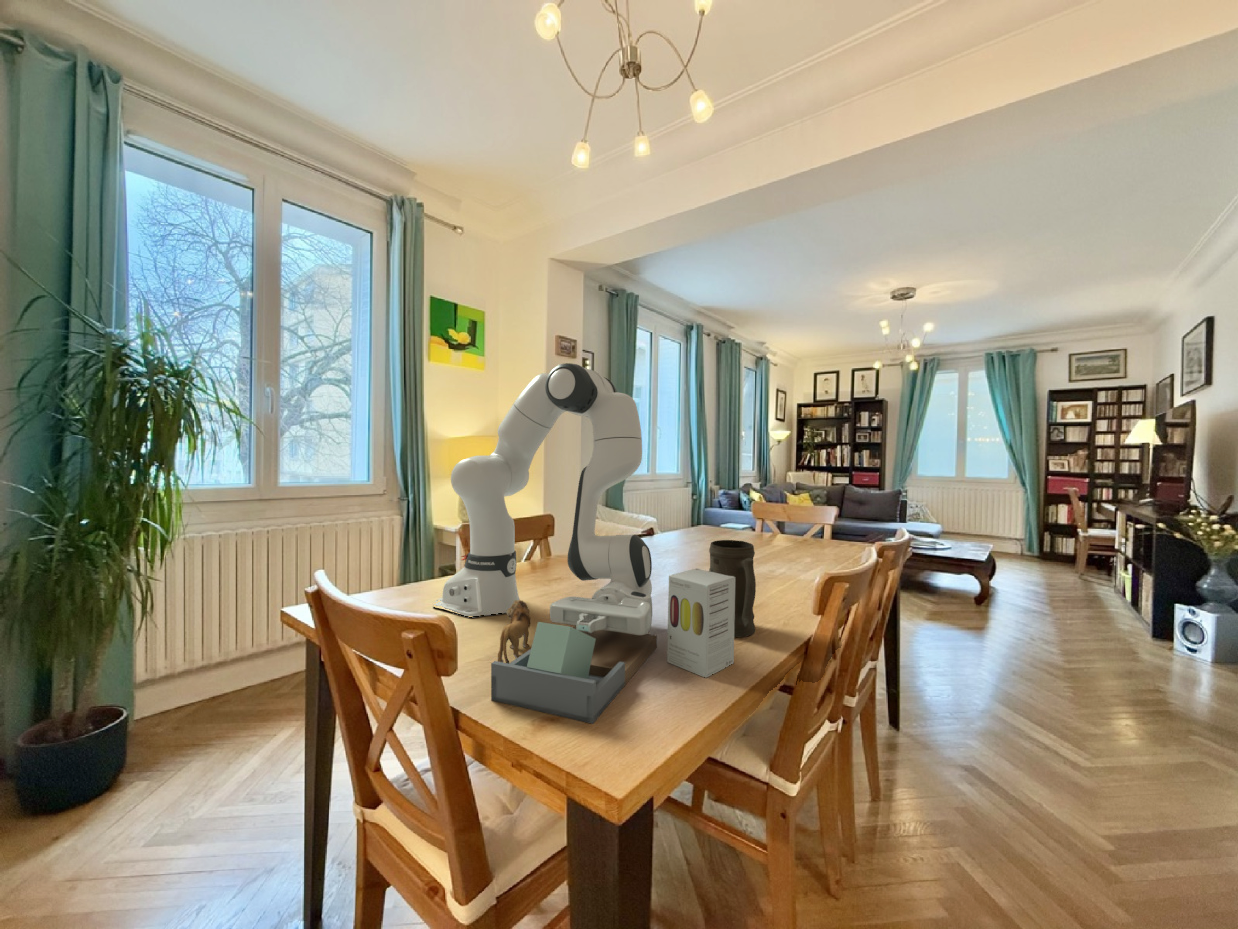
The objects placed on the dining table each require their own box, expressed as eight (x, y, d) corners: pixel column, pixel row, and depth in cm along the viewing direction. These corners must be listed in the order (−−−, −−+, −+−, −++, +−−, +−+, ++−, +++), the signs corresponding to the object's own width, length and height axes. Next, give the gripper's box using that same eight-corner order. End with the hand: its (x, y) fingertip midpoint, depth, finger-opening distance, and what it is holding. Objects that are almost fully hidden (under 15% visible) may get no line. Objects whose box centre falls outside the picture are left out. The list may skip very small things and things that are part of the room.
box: (491, 700, 80) (491, 663, 80) (534, 668, 92) (534, 635, 92) (592, 723, 73) (593, 683, 73) (624, 685, 85) (625, 650, 85)
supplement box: (665, 662, 95) (666, 574, 94) (694, 649, 101) (695, 567, 101) (707, 679, 88) (708, 584, 87) (735, 664, 94) (736, 575, 94)
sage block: (556, 675, 87) (526, 667, 78) (565, 634, 90) (537, 621, 81) (587, 681, 85) (560, 673, 76) (595, 638, 88) (570, 626, 79)
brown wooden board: (534, 668, 92) (534, 654, 92) (577, 635, 109) (578, 623, 108) (624, 685, 85) (624, 671, 85) (656, 647, 102) (656, 635, 102)
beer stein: (695, 623, 116) (699, 539, 114) (733, 617, 120) (738, 536, 119) (735, 652, 102) (740, 557, 100) (777, 644, 106) (782, 553, 105)
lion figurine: (507, 639, 106) (507, 597, 105) (532, 639, 106) (532, 597, 106) (494, 670, 91) (494, 621, 91) (523, 669, 91) (523, 620, 91)
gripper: (568, 585, 107) (533, 604, 94) (659, 596, 99) (635, 618, 86) (567, 615, 107) (533, 637, 94) (658, 628, 99) (635, 653, 87)
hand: (583, 628), depth 90 cm, fingers closed
